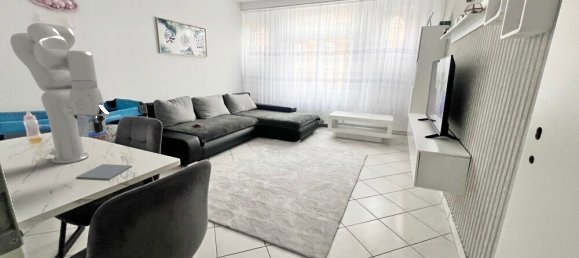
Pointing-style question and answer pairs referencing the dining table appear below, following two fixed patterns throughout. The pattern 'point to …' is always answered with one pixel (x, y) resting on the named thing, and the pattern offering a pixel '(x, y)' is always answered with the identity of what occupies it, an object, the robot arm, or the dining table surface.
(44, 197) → the dining table surface
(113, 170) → the mat
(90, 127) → the medicine box
